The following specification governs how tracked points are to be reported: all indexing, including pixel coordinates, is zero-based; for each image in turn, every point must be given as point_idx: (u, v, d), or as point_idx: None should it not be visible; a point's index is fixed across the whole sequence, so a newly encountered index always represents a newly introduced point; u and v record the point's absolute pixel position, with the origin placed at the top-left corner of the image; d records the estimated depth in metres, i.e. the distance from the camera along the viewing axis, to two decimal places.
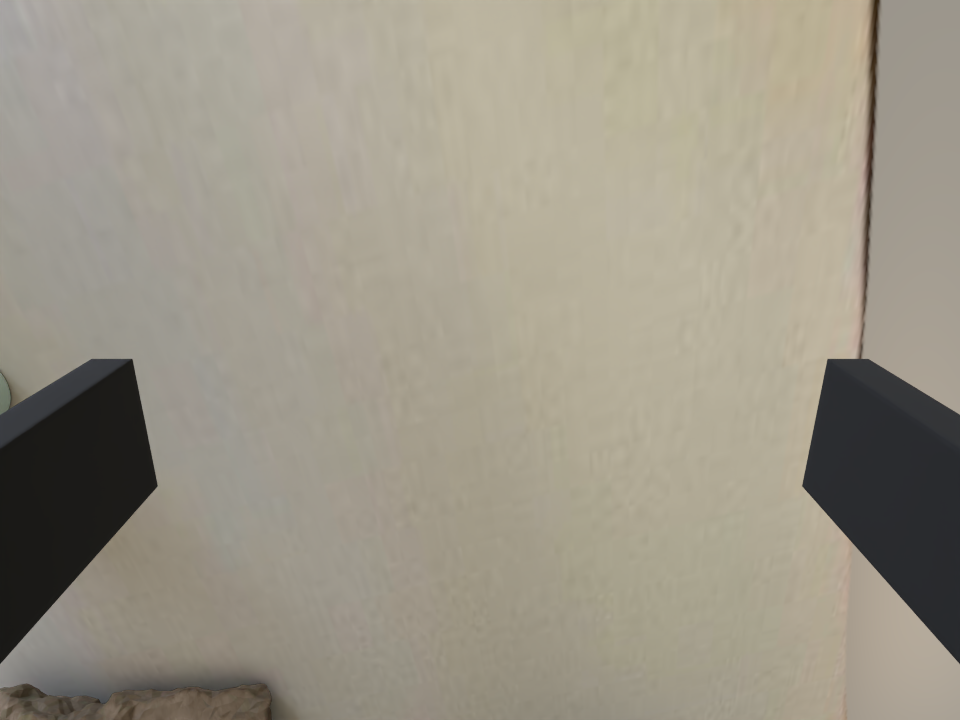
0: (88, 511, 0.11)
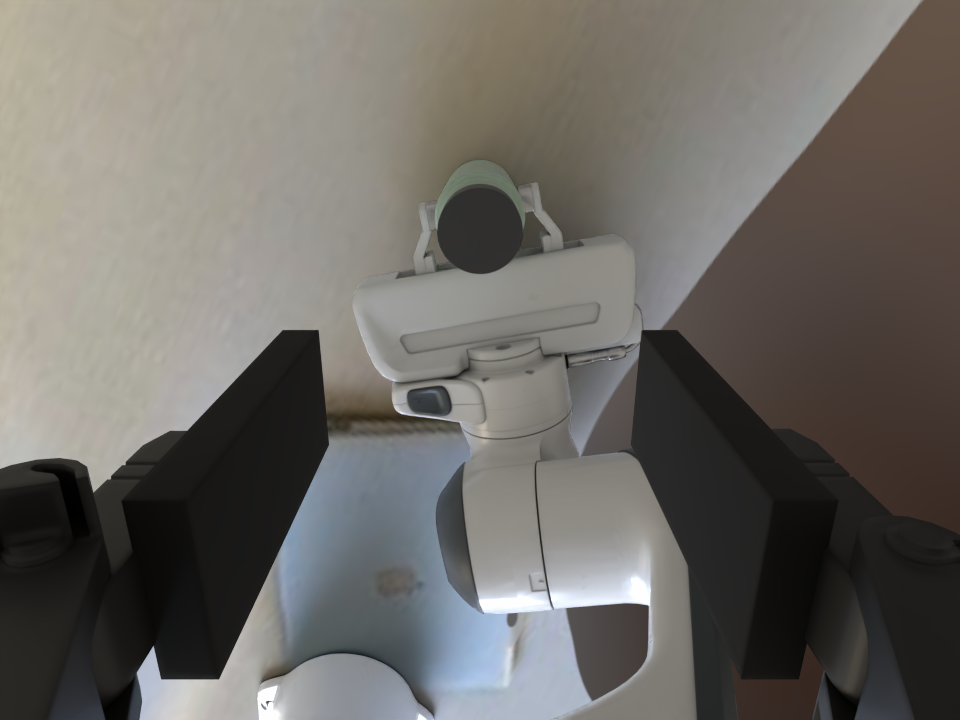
0: (301, 458, 0.12)
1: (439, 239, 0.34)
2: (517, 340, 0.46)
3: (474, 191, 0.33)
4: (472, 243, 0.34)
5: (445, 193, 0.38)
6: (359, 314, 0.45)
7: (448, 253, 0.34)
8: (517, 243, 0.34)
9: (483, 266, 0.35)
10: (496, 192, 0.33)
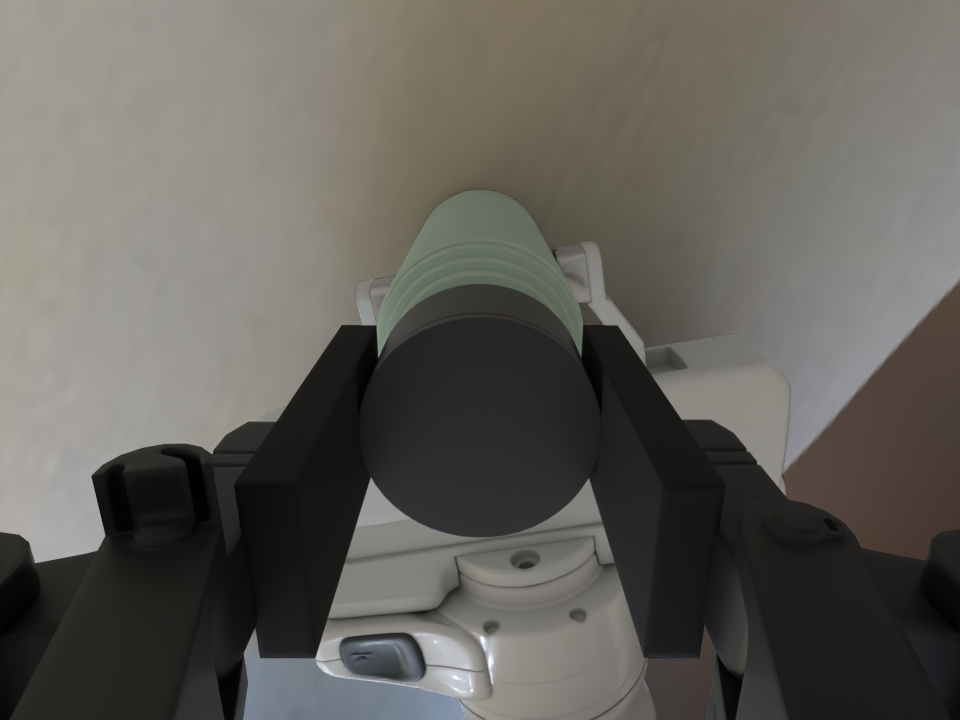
0: None
1: (364, 454, 0.12)
2: (552, 540, 0.24)
3: (463, 327, 0.11)
4: (457, 463, 0.12)
5: (397, 291, 0.16)
6: None
7: (391, 488, 0.12)
8: (585, 464, 0.12)
9: (489, 520, 0.13)
10: (528, 330, 0.11)
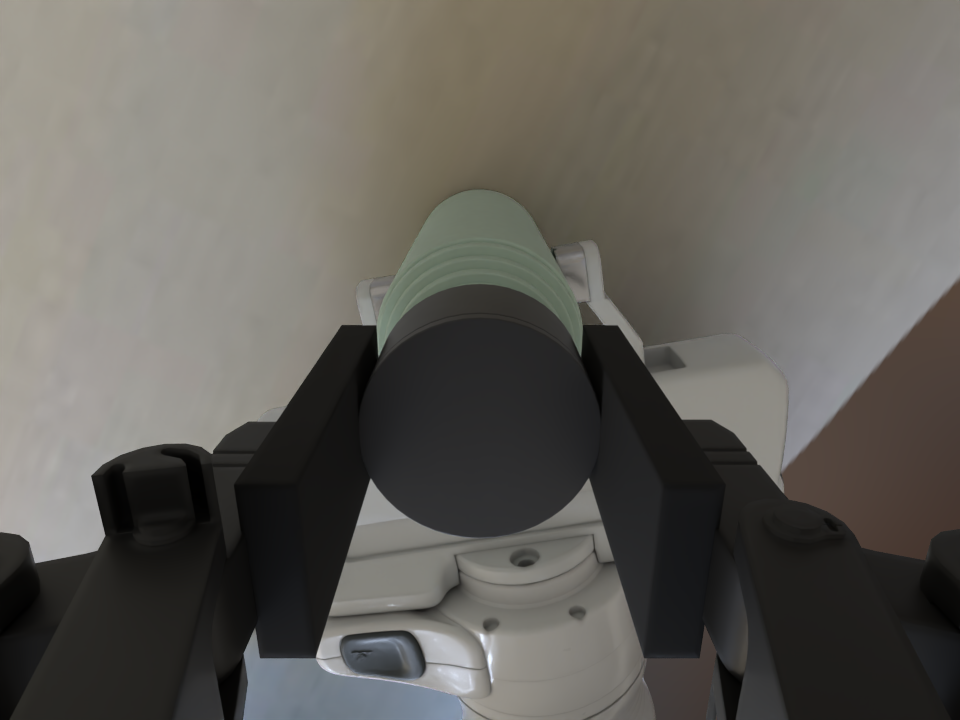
0: None
1: (555, 511, 0.12)
2: (552, 539, 0.24)
3: (395, 498, 0.12)
4: (518, 437, 0.12)
5: (397, 290, 0.16)
6: None
7: (577, 475, 0.12)
8: (447, 333, 0.11)
9: (561, 379, 0.11)
10: (362, 453, 0.12)
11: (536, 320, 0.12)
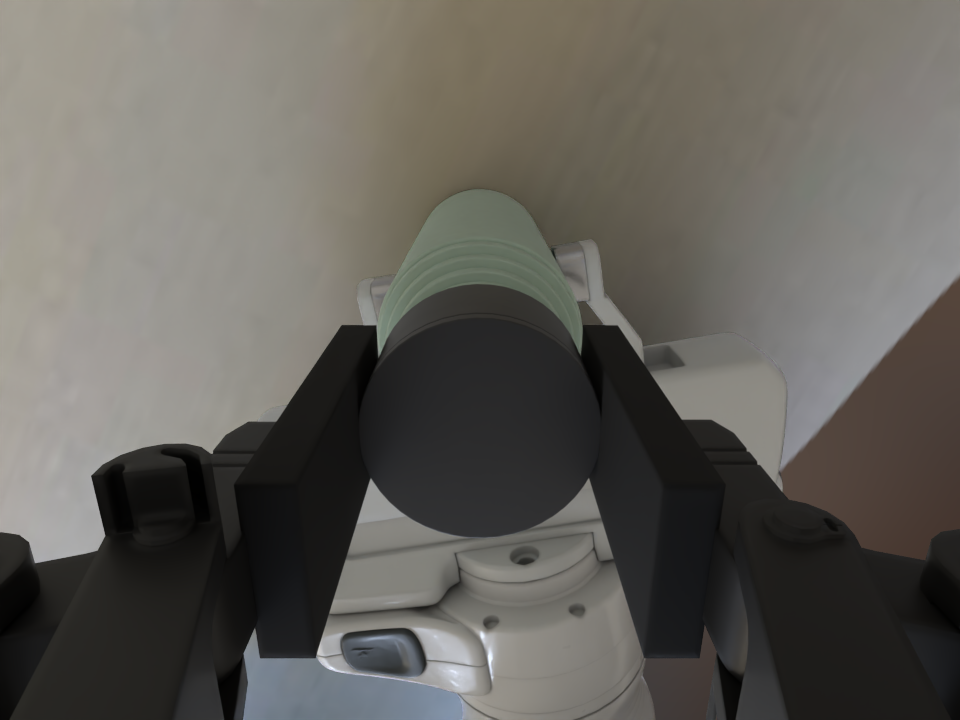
0: None
1: (514, 327, 0.11)
2: (552, 537, 0.24)
3: (586, 466, 0.12)
4: (460, 404, 0.12)
5: (398, 289, 0.16)
6: None
7: (464, 332, 0.11)
8: (407, 507, 0.12)
9: (384, 404, 0.12)
10: (555, 512, 0.12)
11: None
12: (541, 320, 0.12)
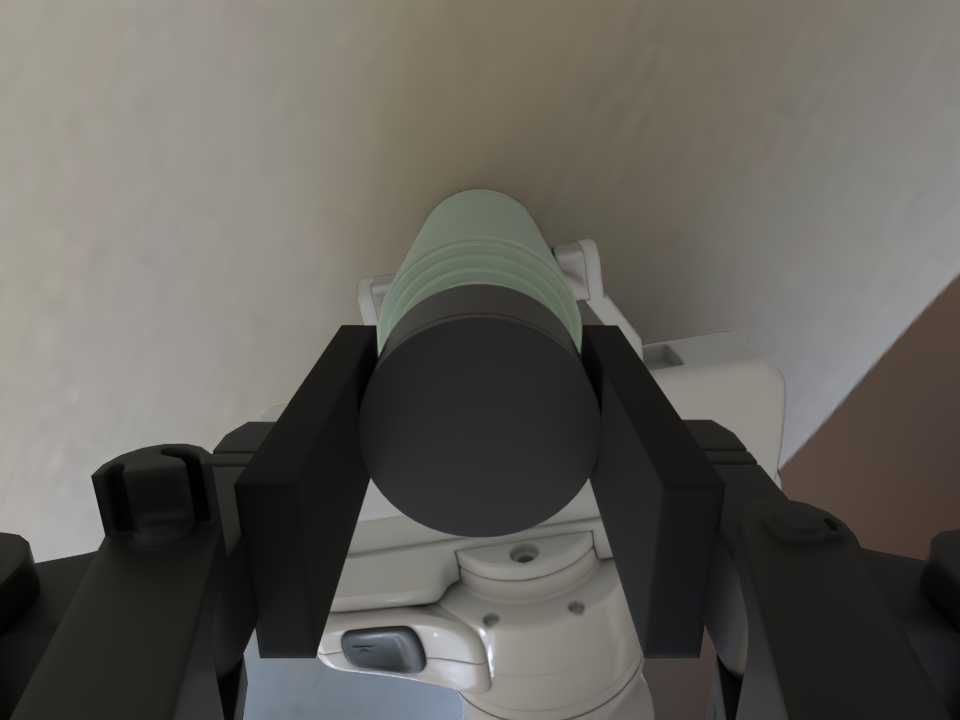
0: None
1: (367, 464, 0.12)
2: (551, 535, 0.24)
3: (450, 329, 0.11)
4: (460, 466, 0.12)
5: (398, 288, 0.16)
6: None
7: (398, 496, 0.12)
8: (589, 454, 0.12)
9: (499, 519, 0.13)
10: (516, 325, 0.11)
11: None
12: None
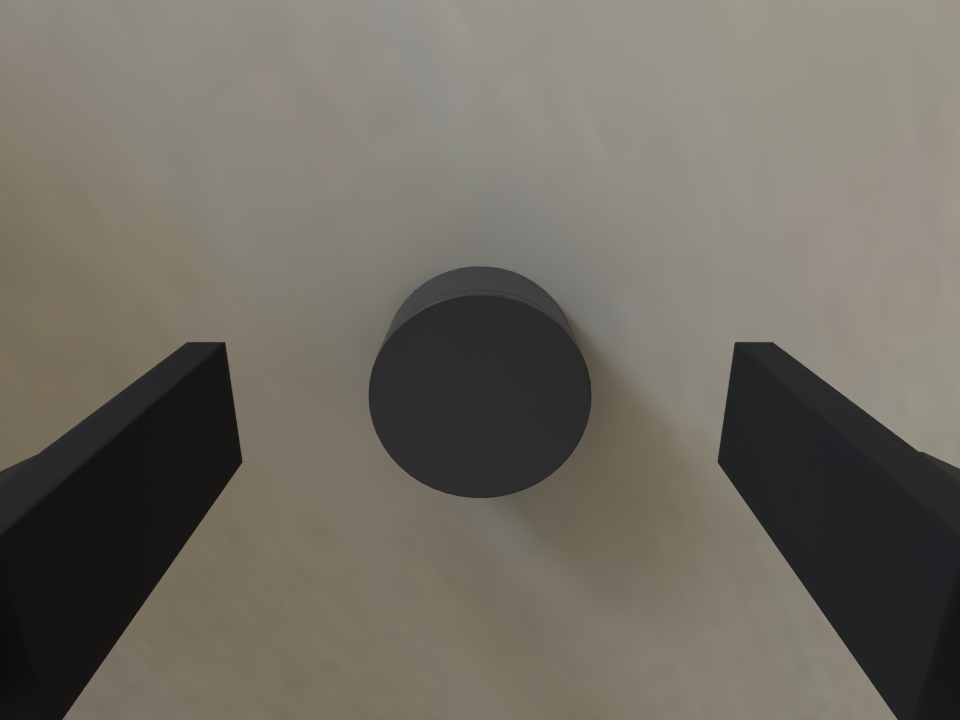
0: (195, 480, 0.11)
1: (378, 429, 0.13)
2: None
3: (453, 304, 0.12)
4: (463, 430, 0.13)
5: None
6: None
7: (405, 458, 0.14)
8: (579, 419, 0.13)
9: (497, 479, 0.14)
10: (512, 301, 0.12)
11: None
12: None
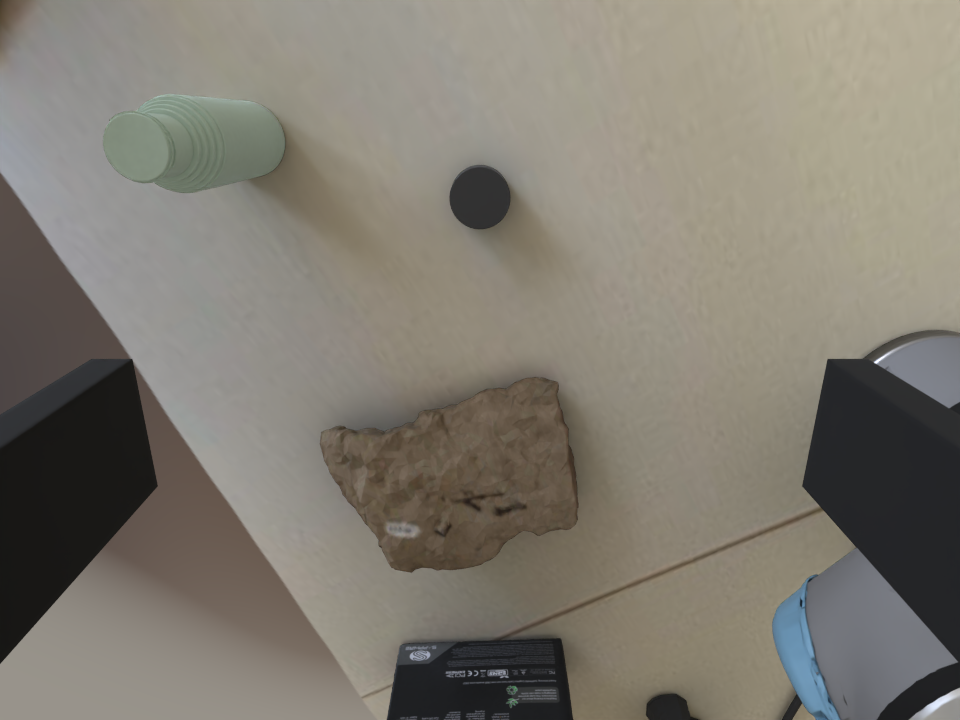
0: (88, 511, 0.11)
1: (452, 206, 0.48)
2: None
3: (473, 170, 0.47)
4: (475, 207, 0.48)
5: (213, 127, 0.37)
6: None
7: (459, 216, 0.49)
8: (507, 203, 0.48)
9: (484, 223, 0.49)
10: (488, 169, 0.47)
11: None
12: None
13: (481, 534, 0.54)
